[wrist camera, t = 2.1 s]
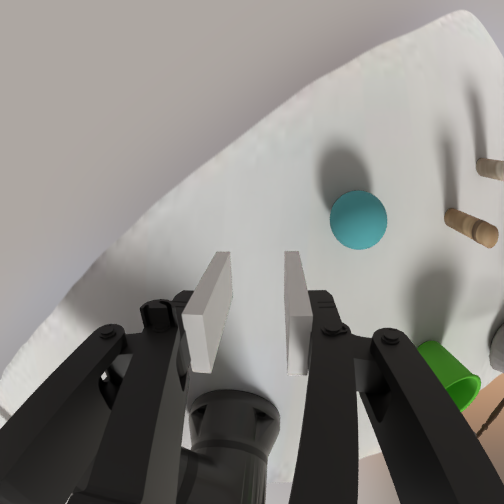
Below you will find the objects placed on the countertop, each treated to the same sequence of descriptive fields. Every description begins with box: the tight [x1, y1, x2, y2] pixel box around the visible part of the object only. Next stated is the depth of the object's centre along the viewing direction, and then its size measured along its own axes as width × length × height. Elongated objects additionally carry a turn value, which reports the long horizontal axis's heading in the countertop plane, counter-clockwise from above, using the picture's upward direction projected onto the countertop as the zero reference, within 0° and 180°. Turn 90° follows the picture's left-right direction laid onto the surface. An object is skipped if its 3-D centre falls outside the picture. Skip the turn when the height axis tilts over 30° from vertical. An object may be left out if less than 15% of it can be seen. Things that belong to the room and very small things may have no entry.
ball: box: [330, 190, 387, 250], centre depth 28 cm, size 6×6×6 cm
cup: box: [417, 341, 481, 412], centre depth 31 cm, size 9×9×11 cm
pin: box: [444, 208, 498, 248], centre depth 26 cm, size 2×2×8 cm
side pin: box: [476, 158, 504, 181], centre depth 23 cm, size 2×2×8 cm
